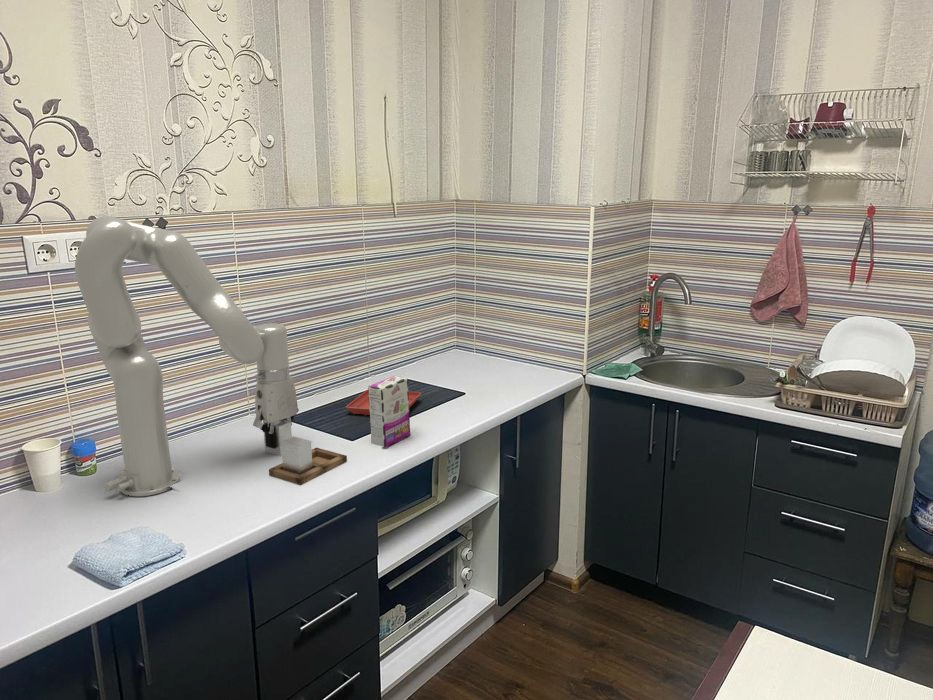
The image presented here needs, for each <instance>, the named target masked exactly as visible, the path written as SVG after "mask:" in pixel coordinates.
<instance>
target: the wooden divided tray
mask: <svg viewBox="0 0 933 700" xmlns="http://www.w3.org/2000/svg"><path fill="white" fill-rule="evenodd" d="M311 450H312V465H313V469H311V470H309V471H307V472H305V473H303V474H301V475H298V474H295V473H291V472H288V471H285V470H283V462H282V463H279V464H277V465H275V466H273V467H271V468H268V475H269V477H273V478H276V479H279V480H281V481H285V482H289V483H292V484H294V485H299V486H302V485H304V484H306V483H308V482H309V481H311V480H314V479H316V478H318V477H319V476H321V475H324V474H326V473H328V472H329V471H332V470H333V469H336V468H338V467H339V466H341V465H343V464H345V463H347V462H348V455H346V454H342V453H338V452H335V451H331V450H329V449H328V450H327V449H324V448H320V447H314V448H311Z"/></svg>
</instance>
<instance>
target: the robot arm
mask: <svg viewBox="0 0 933 700" xmlns="http://www.w3.org/2000/svg"><path fill="white" fill-rule="evenodd" d="M125 260H127V261H134V262H137V263H143V264H147V265H152V266H156V267H157V268H158V269H159V270H160V272H161V273H162V274H163V275H164V277H165V278H166V280H167V281H168V282H169V283H170V285H171V286H172V287H173V288H174V290H175V292H177V294H178V295H179V296H180V298H181V299H182V300H183V302H184V303H185V304H186V306H187V307H188V308H189V309H190V310H191V311H192V312H193V313H194V314H195V315H196V316H198V317H199V318H200V319H201V320H202V321H203V322H205V324H207V326H209V328H210V329H211V330H212V331H213V332H214V333H215V334H216V335H217V337H218V338H219V339H218V344H219V347H220V349H221V351H223V352H224V354H226V355H227V356H228V357H231V358H232V359H233V360H235V361H236V362H238V363H240V364H243V365H251V364H254V363H256V366H257V367H256V369H257V370H256V371H257V374H255V375H254V377H255V380H256V386H255V393H254V396H255V397H254V398H255V399H254V404H255V405H254V407H255V409H254V410H255V418H254V421H253V422H252V423H253V424H252V426H253V427H254V428H257V429H259V430H261V431H262V432H263V433H264V432H265V441H266V446H267V447H270V448H273V449H275V448H276V434H275V433H273V432H274V423H275V422H278V421H281V420H285V421H289V422H291V427H292V425H293V423H292V422H293V421H294V419H295V417H296V415H297V414H298V413H299V411H300V410H299V407H298V397H297V390H296V386H295V382H294V379H293V376H291V375H290V362H289V361H290V360H289V348H288V347H289V346H288V345H289V344H288V333H287V328H286V326H285V325H283V324H282V323H274V322H273V323H263V324H260V325H253V324H252V323H251V321H250V320H249V319H248V317H247V316H246V315H245V314H244V312H243V311H242V310H241V309H240V307H239V306H238V305H237V304H236V303H235V301H234V299H232V297H231V296H230V295H229V294H228V292H227V291H226V290H225V288H224V287H223V286H222V285H221V284H220V282H219V281H218V280H217V278H216V277H215V275H214V274H213V273H212V271H211V270H210V269H209V267H208V266H207V264H206V263H205V262H204V260H203V259H202V258H201V256H200V255H199V253H198V251H197V250H195V248H194V247H193V245H192V244H191V242H190V241H189V240H188V239H187V238H186V237H185V236H184V235H183V234H181V233H180V232H177V231H173V230H169V229H164V228H160V227H159V228H158V227H154V226H150V225H147V224H146V225H145V224H141V223H138V222H133V221H129V220H125V219H122V218H119V217H115V216H110V215H104V216H99V217H97V218H95V219H93V220H92V221H90V223H89V224H88V226H87V228H86V232H85V238H84V239H83V241H81V244H80V246H79V247H78V250H77V252H76V256H75V261H74V272H75V273H74V274H75V278H76V282H77V285H78V289H79V290H80V294H81V296H82V299H83V302H84V305H85V308H86V309H87V312H88V314H87V324H88V328H89V330H90V333H91V336H92V337H93V341H94V343H95V345H96V349H98V354H99V355H100V358H101V359H102V362H103V364H104V368H105V369H106V372H107V374H108V375H109V377H110V378H111V380H112V382H113V388H114V395H115V397H114V399H115V407H116V408H115V410H116V416H117V423H118V430H119V436H120V445H121V451H122V458H123V465H124V469H123V470H120V472H119V473H120V475H119V476H118V477H117V478H116V479H111V480H110V481H107V482H104V484H103V486H104V489H105V491H107V492H110V491H113V490H115V489H117V491H119V492H120V493H121V492H122V494H123V495H125V496H128V495H129V497H147V496H149V497H150V496H153V495H159V494H162V493H165V492H168V491H169V490H171V489H173V487H172V486H173V485H175V484H177V483H179V482H180V481H181V476H180V473H179V472H178V471H176V470H173V469H172V461H171V453H170V445H169V435H168V430H167V429H168V428H167V421H166V413H165V404H164V377H163V372H162V367H161V365H160V363H159V361H158V360H157V359H156V357H155V356H154V355H152V354H151V352H150V351H149V350H148V347H147V346H146V343H145V340H144V337H143V335H142V332H141V331H142V322H141V318H140V316H139V314H138V313H137V310H136V308H135V306H134V303H133V301H132V298H131V296H130V293H129V291H128V287H127V285H126V284H127V283H126V281H125V278H124V274H123V265H124V262H125ZM268 423H269V427H268Z"/></svg>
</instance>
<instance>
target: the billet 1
mask: <svg viewBox="0 0 933 700" xmlns="http://www.w3.org/2000/svg"><path fill="white" fill-rule="evenodd" d="M268 427H269V423H268ZM273 433H275V434H276V448H275V449H273V448H270V447H267V446H266V441H265V432H263V438H264V440H263V442H264V451H265V453H268V454H272V455H276V456H279V457H282V449H281V442H282V441H284V440H286V439H289V438H291V437H293V435H292V426H291V422H289V421H285V420H281V421H278V422H275V423H274V432H273Z"/></svg>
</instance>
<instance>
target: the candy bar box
mask: <svg viewBox="0 0 933 700" xmlns="http://www.w3.org/2000/svg"><path fill="white" fill-rule="evenodd" d="M408 380H409V378H408V377H404V376H398V375H392V376H390V377H388V378H384V379H383V380H381V381H378V382H376V383H373V384H371V385H368V387H367V390H368V393H369V409H370V416H369V423H370V437H371V438H370V439H371V440H370V441H371V444H372V445H376V446H380V447H381V448H382V449H387V448H389V447H391V446H393V445H395V444H397V443H399V442H401V441H402V440H405V439H407V437H410V436H411V425H410V424H411V421H410V420H411V419H410V408H409V395H408V392H409V381H408Z"/></svg>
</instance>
